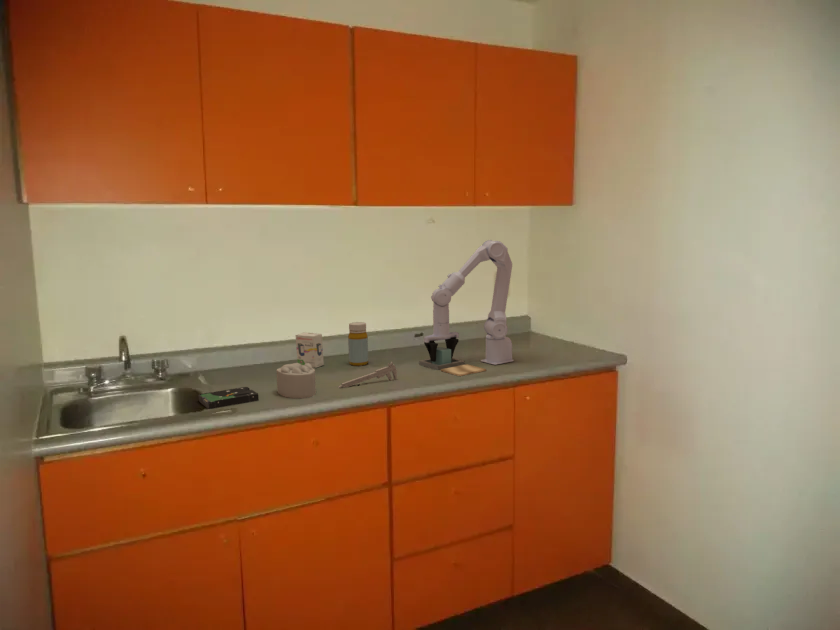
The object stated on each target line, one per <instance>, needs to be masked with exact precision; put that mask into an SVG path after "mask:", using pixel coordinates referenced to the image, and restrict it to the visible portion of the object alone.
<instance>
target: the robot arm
mask: <svg viewBox="0 0 840 630" xmlns="http://www.w3.org/2000/svg"><path fill="white" fill-rule="evenodd" d="M486 261H491V263H493V264H494V266H495V267H496V273H495V275H496V276H495V281H494V288H493V295H492V300H491V307H490V311H489V312H488V314H487V318H486V320H485V322H484V325H483V327H484V328H483V329H484V331H485V333H486V336H485V358H484V359H480V362H482V363H487V364H490V365H493V366H494V365H496V366H497V365H501V364H507V363H511V362H514V361H515V359H513V343H512V340H511V338H510V337H508V336H507V335H508V331H509V329H508V326H507V320H508V319H507V315H506V309H507V302H508V295H509V289H510V283H511V282H510V281H511V277H512V269H513V261H512V259H511V257H510V254H509V250H508V247H507V246H506V245H505V244H504V242H502V241H500V240H492V239H488V240H487V239H486V240H485V241H484V242H483V243H482V245H480V246H478V248H477V249H475V251H474V252H473V254H472V255H471V256H470V257H469V258H468V259H467V260H466V262H465V263H464V264H463V265H462V266H461V267H460V269H459V270H458V271H454V272H453V271H452V272H451V273H448V274H447V278H446V279H445V280H444V281H443V282H442V283H441V284H438V288H435V289H434V290H433V291H432V294H431V296H430V298H431V301H432V302H433V303H432V304H433V306H432V307H433V309H432V321H433V323H432V324H433V325H432V328H433V332H432V334H429V335H425V336H423V344H424V346H425V348H426V350H427V353H428V355H429V359H431V361H433V362H436V351H437V347H439V343H437V342H436V341H443V340H444V342H445V346H446V347H445V348H447V349H451V359H452V358H453V357H454V354H455V350H456V347H457V345H458V343H459V342H460V340H459V338H460V337H459V336H460V333H459V332H456V331H453V332H452V331H450V307H449V305H450V303H451V300H452V297H454V295H455V294H456V293H457V292H458V291H459V290H460V289H461V288H462V287H463V286H464V285H465V281H466V278H467V276H468V275H469V274H470V273H472V271H473V270H475V268H477V266H479V264H480V263H482V262H486Z"/></svg>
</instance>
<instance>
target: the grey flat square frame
mask: <svg viewBox="0 0 840 630" xmlns="http://www.w3.org/2000/svg"><path fill="white" fill-rule="evenodd" d="M418 365H419V366H422V367H426V368H429V369H433V370H436V371H441V369H445V368H450V367H455V366H460V365H465V360H461V359H458V358H453V357H452V359H451V363H447V364H441V365H437V364H433V363H432V361H431V359H430V358H428V359H423V360H421V359H420V360H418Z"/></svg>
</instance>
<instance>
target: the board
mask: <svg viewBox="0 0 840 630" xmlns="http://www.w3.org/2000/svg"><path fill="white" fill-rule="evenodd" d="M440 371H441V372H444V373H447V374H450V375H452V376H453V375H454V376H458V377H463V376H467V375H471V374H472V375H473V374H477V373H481V372H487V368H483V367H479V366H476V365H472V364H468V363H467V364H464V365H460V366H455V367H450V368H445V369H441V370H440Z"/></svg>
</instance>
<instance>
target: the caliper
mask: <svg viewBox="0 0 840 630" xmlns="http://www.w3.org/2000/svg"><path fill="white" fill-rule="evenodd" d="M397 372H398V371H397V367H396V365H395V364H394V363H393V361H390V363H389V362H387V366H384V367H382V368H381V367H380V368H378V369H376V370H374V372H371V373H368V374H365V375H361V376H359V377H357V378H353V379H351V380H347V381H344V382H343V383H340V385H339V386H338V387H337V388H338V389H341V388H349V387H352V386H354V385H356V384H360V383H362V382H365V381H368V380H372V379H374V378H376V379H380V378H383V377H385V376H386V377H387V379H388V381H393V380H397V375H398V373H397ZM392 376H393V379H392Z"/></svg>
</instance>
